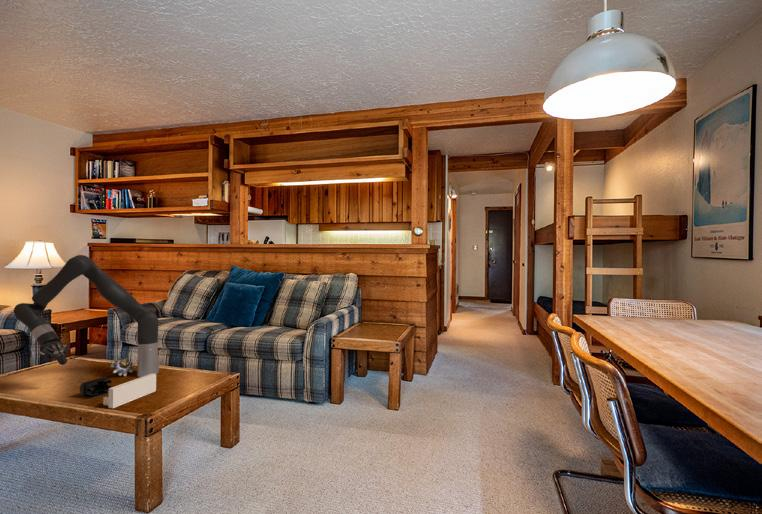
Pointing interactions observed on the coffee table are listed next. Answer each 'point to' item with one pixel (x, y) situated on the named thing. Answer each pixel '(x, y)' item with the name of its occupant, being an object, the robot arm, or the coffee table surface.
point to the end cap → (95, 387)
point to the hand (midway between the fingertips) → (64, 363)
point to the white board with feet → (130, 391)
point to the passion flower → (122, 366)
